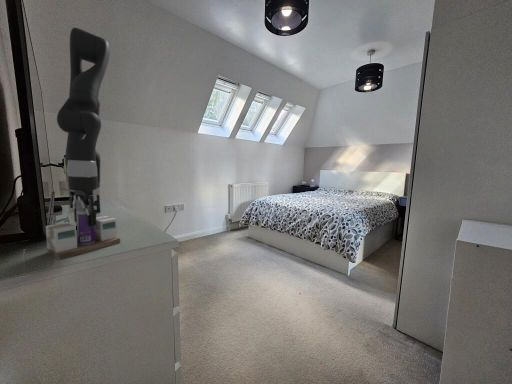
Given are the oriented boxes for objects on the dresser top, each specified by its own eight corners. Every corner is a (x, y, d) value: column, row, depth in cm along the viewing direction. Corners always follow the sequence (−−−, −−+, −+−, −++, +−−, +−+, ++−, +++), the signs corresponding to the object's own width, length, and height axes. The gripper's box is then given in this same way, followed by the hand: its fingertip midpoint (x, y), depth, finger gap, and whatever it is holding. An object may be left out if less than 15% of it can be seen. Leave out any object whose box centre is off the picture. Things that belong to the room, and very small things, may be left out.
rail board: (47, 252, 67) (45, 225, 66) (106, 237, 82) (105, 215, 80) (60, 259, 62) (58, 231, 61) (120, 242, 77) (119, 219, 76)
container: (98, 240, 74) (97, 198, 72) (86, 245, 69) (85, 199, 68) (86, 239, 74) (84, 197, 73) (73, 244, 70) (71, 198, 68)
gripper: (58, 173, 69) (61, 222, 71) (80, 176, 62) (82, 230, 64) (85, 173, 76) (87, 218, 78) (107, 176, 69) (109, 224, 71)
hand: (85, 223), depth 71 cm, fingers open, 8 cm apart
